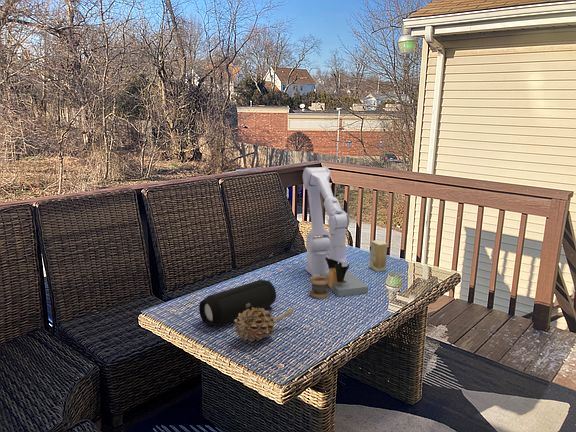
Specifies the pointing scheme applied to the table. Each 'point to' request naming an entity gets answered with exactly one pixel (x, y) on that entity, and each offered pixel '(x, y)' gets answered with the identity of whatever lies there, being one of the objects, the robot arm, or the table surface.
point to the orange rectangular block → (332, 277)
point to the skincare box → (378, 255)
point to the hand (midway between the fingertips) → (336, 278)
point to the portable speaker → (236, 302)
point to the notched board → (348, 285)
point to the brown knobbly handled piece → (257, 323)
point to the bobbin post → (319, 286)
